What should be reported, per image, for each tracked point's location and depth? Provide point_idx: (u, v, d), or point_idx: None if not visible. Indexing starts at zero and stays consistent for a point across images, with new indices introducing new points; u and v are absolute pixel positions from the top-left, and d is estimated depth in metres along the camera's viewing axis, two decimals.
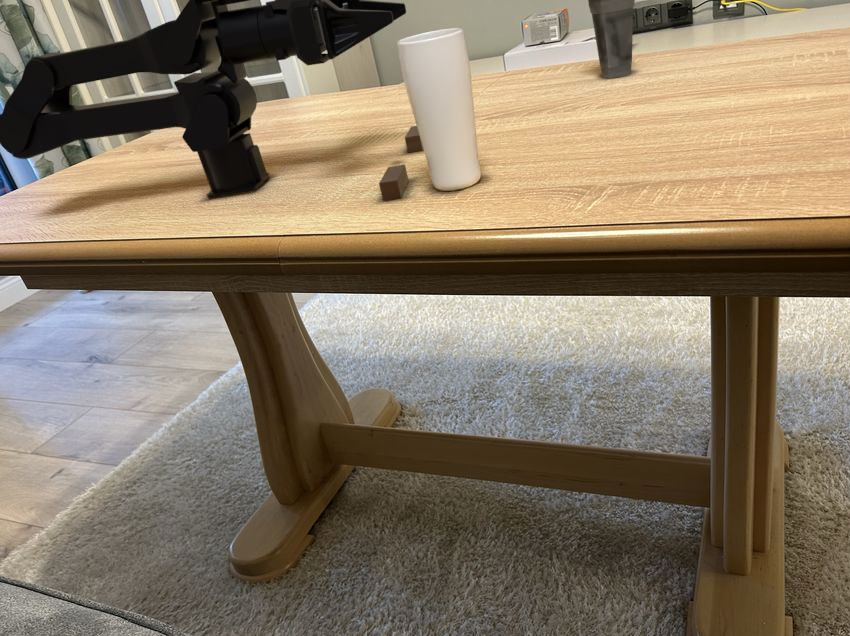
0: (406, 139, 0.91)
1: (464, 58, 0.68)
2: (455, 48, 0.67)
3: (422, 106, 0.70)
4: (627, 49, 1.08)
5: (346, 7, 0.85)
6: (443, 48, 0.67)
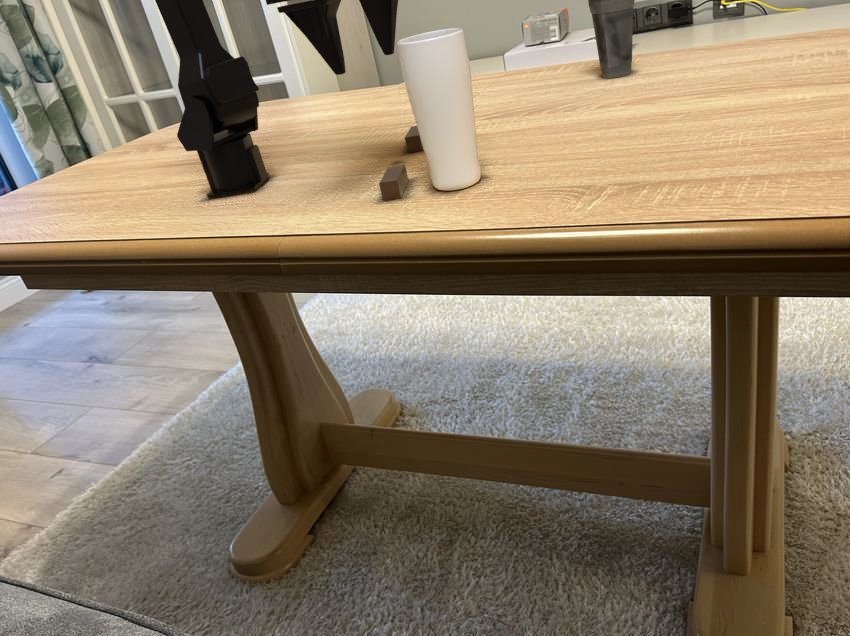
0: (406, 139, 0.91)
1: (464, 58, 0.68)
2: (455, 48, 0.67)
3: (422, 106, 0.70)
4: (627, 49, 1.08)
5: None
6: (443, 48, 0.67)
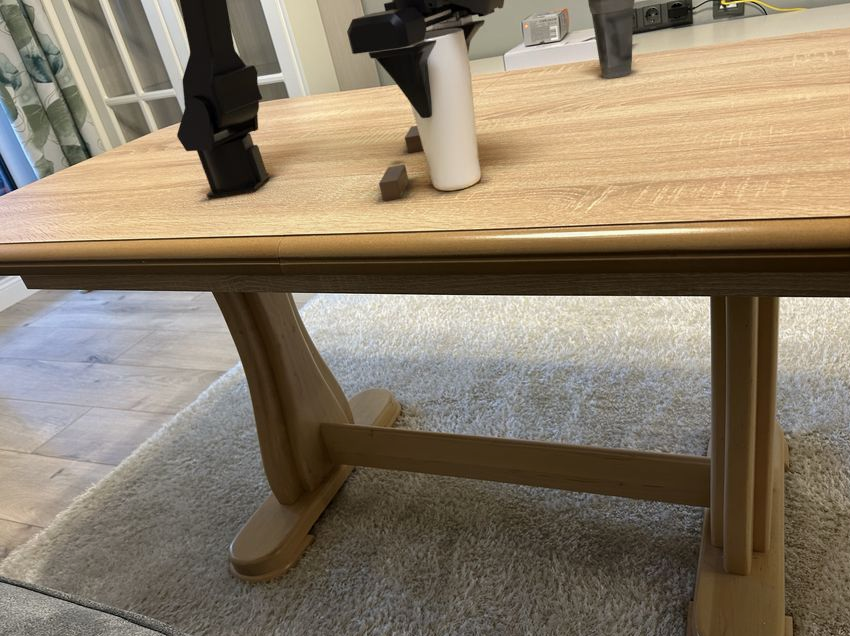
0: (406, 139, 0.91)
1: (464, 58, 0.68)
2: (455, 48, 0.67)
3: None
4: (627, 49, 1.08)
5: (458, 23, 0.71)
6: (443, 48, 0.67)
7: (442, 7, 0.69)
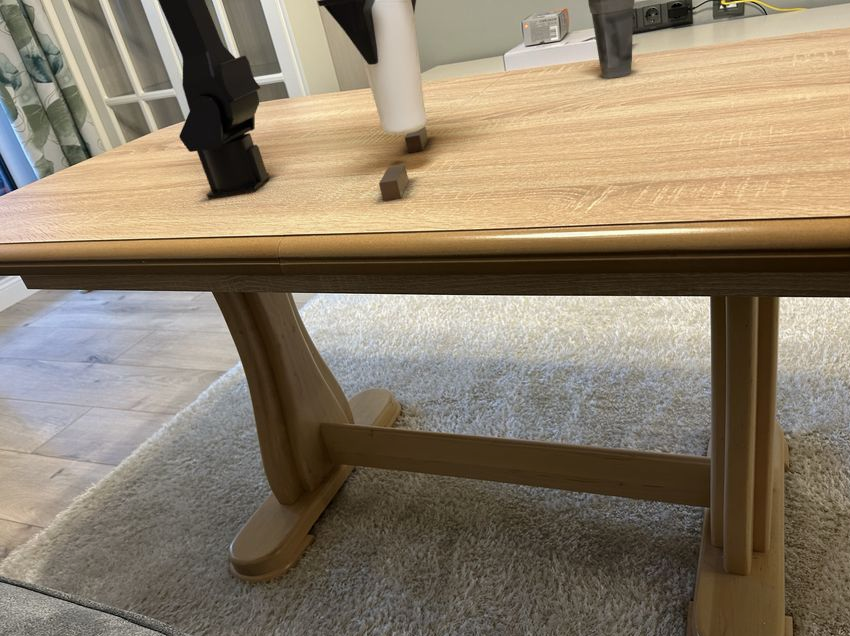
0: (406, 139, 0.91)
1: (407, 9, 0.74)
2: None
3: None
4: (627, 49, 1.08)
5: None
6: None
7: None
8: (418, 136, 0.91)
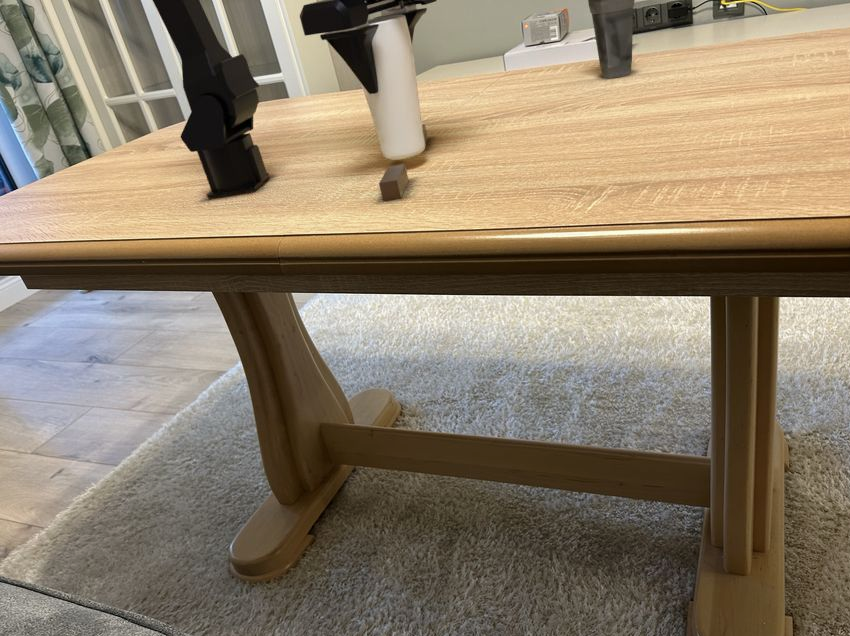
0: None
1: (406, 41, 0.78)
2: (397, 31, 0.77)
3: None
4: (627, 49, 1.08)
5: (402, 10, 0.81)
6: (386, 32, 0.76)
7: None
8: None
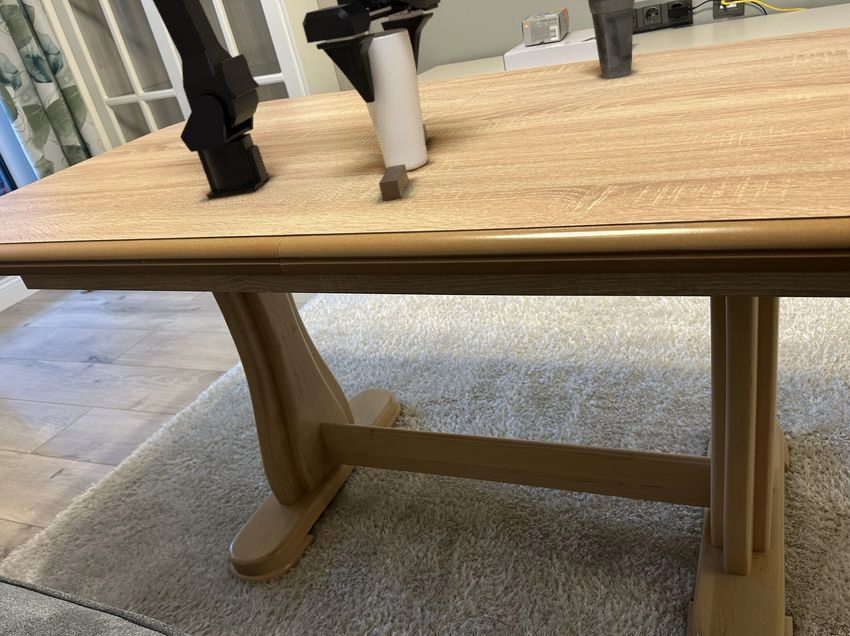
0: None
1: (408, 54, 0.79)
2: (400, 45, 0.77)
3: None
4: (627, 49, 1.08)
5: (409, 15, 0.82)
6: (388, 46, 0.77)
7: (389, 2, 0.79)
8: None
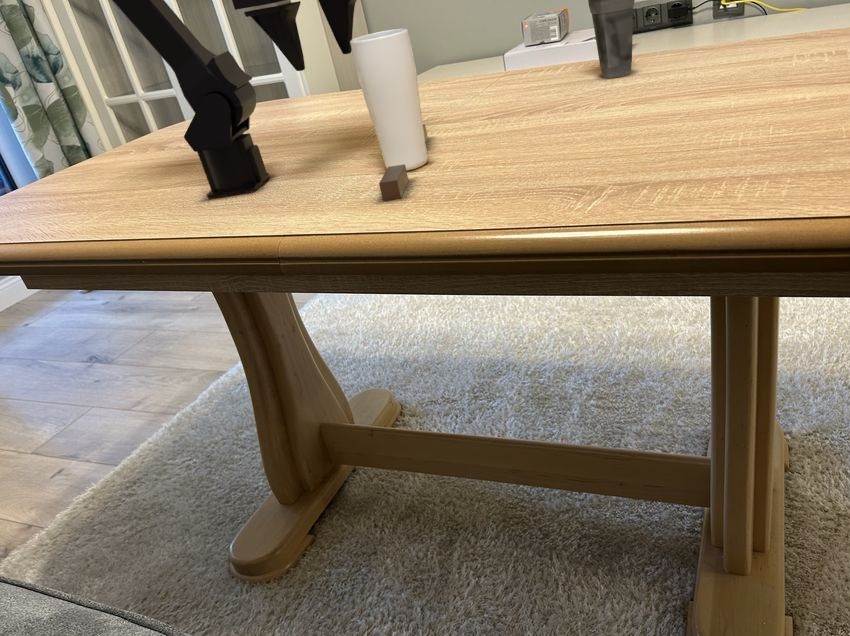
0: None
1: (408, 55, 0.79)
2: (400, 45, 0.77)
3: (372, 96, 0.80)
4: (627, 49, 1.08)
5: None
6: (388, 46, 0.77)
7: None
8: None
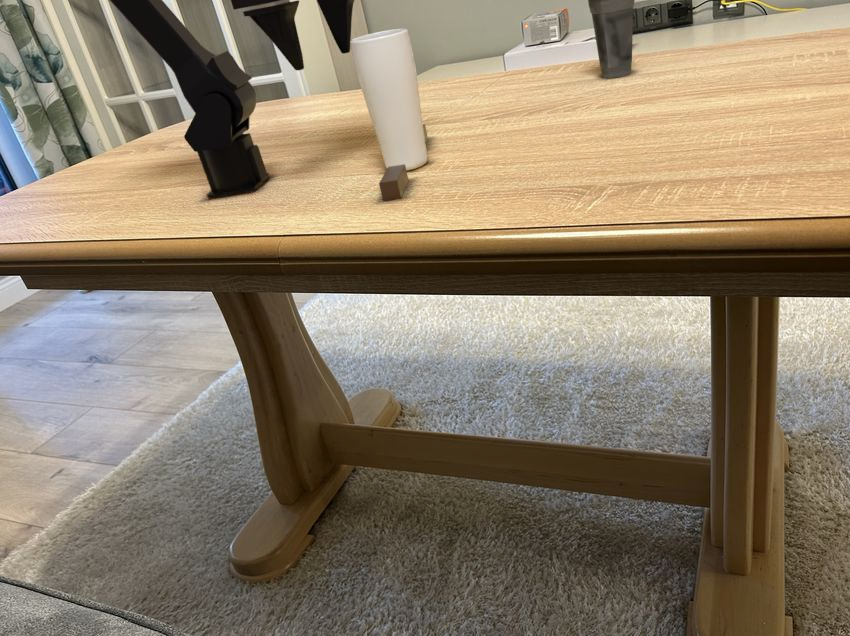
0: None
1: (408, 54, 0.79)
2: (400, 45, 0.77)
3: (372, 96, 0.80)
4: (627, 49, 1.08)
5: None
6: (388, 46, 0.77)
7: None
8: None
